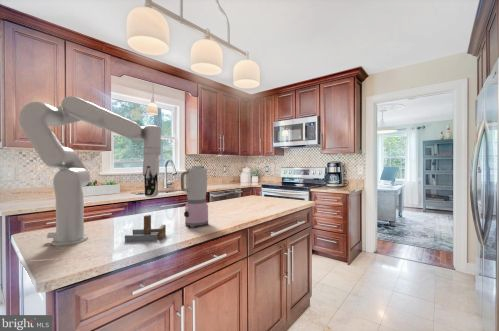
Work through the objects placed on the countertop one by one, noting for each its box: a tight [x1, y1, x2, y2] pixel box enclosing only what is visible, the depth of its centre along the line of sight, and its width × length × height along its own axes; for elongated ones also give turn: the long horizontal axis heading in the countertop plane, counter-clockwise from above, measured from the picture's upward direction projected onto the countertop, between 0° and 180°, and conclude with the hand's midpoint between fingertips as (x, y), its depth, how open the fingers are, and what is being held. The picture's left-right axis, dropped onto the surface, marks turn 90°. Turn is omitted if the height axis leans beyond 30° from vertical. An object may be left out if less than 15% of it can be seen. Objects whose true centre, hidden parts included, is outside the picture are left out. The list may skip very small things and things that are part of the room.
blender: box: [180, 165, 209, 229], centre depth 127 cm, size 16×12×32 cm
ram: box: [143, 214, 167, 241], centre depth 106 cm, size 8×7×10 cm
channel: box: [124, 228, 159, 243], centre depth 105 cm, size 13×10×3 cm
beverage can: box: [143, 172, 159, 198], centre depth 111 cm, size 6×6×12 cm
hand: (151, 190), depth 111 cm, fingers closed on beverage can, 3 cm apart
